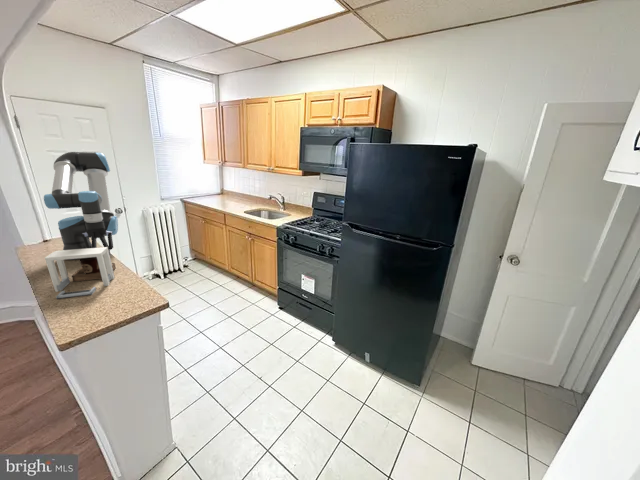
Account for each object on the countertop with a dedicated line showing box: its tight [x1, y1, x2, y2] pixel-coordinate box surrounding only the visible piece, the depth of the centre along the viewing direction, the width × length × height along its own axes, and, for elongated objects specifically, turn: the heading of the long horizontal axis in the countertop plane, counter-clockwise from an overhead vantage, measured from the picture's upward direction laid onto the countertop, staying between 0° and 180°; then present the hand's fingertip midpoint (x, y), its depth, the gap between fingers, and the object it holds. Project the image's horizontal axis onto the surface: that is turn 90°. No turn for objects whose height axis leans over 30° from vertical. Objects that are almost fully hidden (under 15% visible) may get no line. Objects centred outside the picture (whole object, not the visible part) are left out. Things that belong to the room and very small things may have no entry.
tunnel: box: [44, 246, 115, 292], centre depth 122 cm, size 9×20×16 cm, turn 111°
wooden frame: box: [71, 246, 116, 283], centre depth 136 cm, size 20×14×10 cm, turn 22°
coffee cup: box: [77, 257, 100, 274], centre depth 130 cm, size 9×8×13 cm
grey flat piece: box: [55, 286, 97, 300], centre depth 115 cm, size 5×12×1 cm, turn 112°
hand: (103, 261), depth 144 cm, fingers open, 3 cm apart
